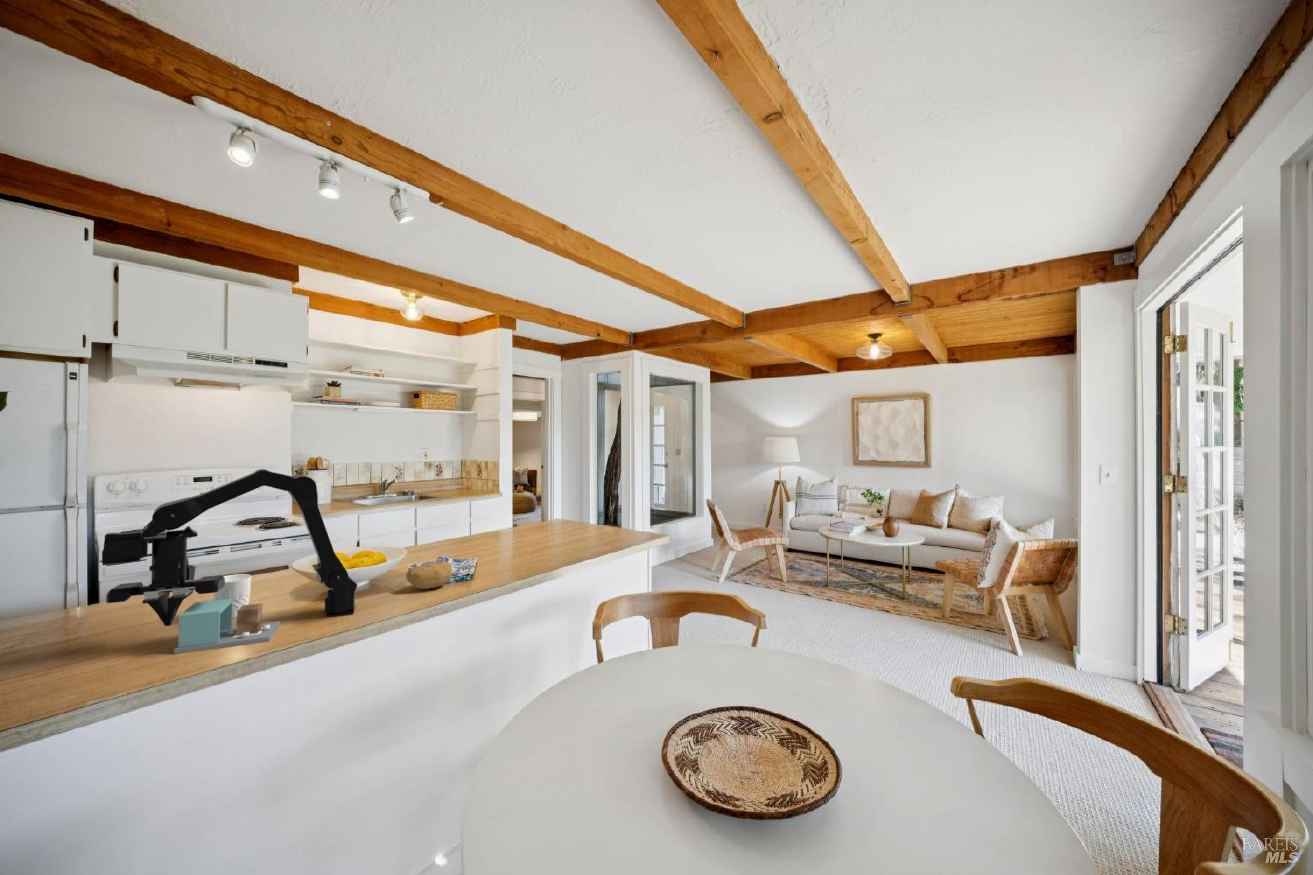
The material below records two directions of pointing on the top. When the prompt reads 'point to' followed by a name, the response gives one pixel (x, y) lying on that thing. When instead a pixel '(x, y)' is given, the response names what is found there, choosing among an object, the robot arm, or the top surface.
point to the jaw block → (249, 619)
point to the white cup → (235, 591)
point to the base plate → (235, 638)
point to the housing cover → (204, 622)
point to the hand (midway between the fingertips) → (168, 625)
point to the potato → (429, 575)
